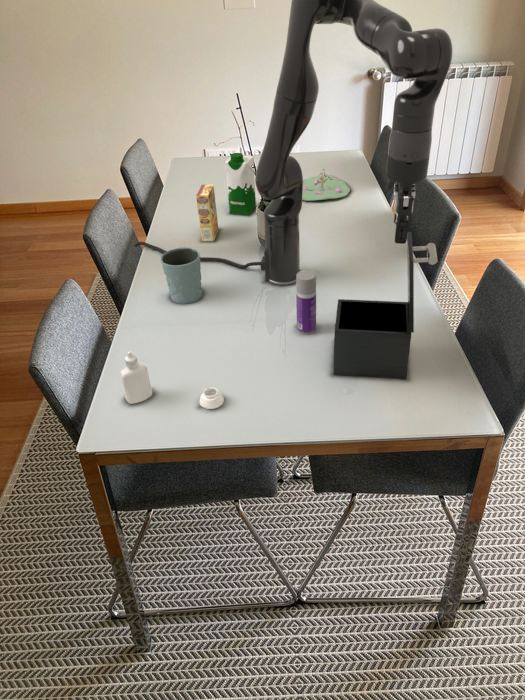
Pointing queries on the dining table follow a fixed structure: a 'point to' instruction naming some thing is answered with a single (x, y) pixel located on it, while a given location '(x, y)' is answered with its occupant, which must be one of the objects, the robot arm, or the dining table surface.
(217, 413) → the dining table surface
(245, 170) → the milk carton
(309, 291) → the container
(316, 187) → the plant
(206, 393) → the lidless jar
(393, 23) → the robot arm
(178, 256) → the grey-green cup
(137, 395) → the eye dropper bottle
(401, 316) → the bin
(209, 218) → the candy box
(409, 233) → the bin lid
